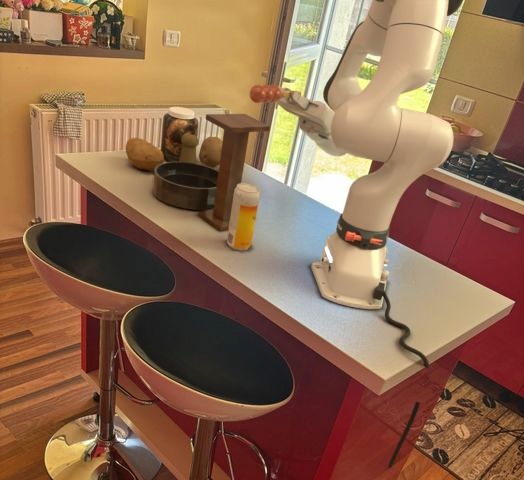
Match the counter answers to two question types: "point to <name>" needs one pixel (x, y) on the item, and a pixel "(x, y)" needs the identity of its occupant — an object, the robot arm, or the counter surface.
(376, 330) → the counter surface
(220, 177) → the walnut stand
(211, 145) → the round brown potato
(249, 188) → the beer can
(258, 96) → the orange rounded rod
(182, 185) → the round cake pan
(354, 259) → the robot arm
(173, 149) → the jar
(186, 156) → the cork
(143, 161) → the potato
